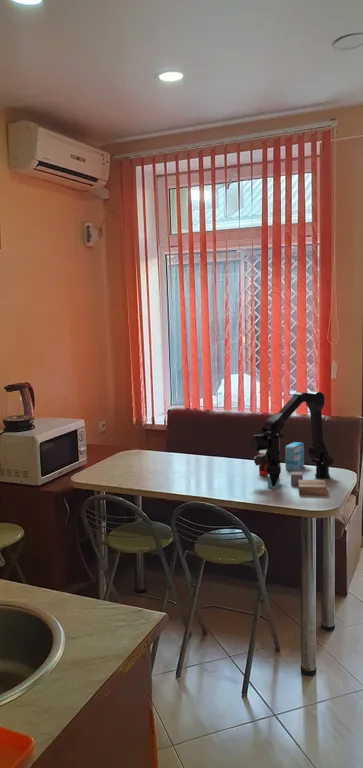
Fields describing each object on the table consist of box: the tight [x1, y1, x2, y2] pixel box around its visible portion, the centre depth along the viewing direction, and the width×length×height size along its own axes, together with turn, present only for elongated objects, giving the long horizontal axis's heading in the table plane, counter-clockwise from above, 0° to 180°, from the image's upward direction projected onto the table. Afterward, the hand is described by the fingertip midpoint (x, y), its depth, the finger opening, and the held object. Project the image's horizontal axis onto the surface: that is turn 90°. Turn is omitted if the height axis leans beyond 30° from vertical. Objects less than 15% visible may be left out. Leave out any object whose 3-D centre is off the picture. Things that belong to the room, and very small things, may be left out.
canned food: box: [258, 449, 268, 477], centre depth 273 cm, size 8×8×11 cm
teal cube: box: [267, 474, 280, 488], centre depth 254 cm, size 5×5×5 cm
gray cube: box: [290, 471, 304, 487], centre depth 255 cm, size 5×5×5 cm
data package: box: [284, 441, 305, 472], centre depth 282 cm, size 12×4×12 cm, turn 145°
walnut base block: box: [297, 479, 328, 497], centre depth 244 cm, size 11×11×4 cm
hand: (273, 483), depth 254 cm, fingers open, 9 cm apart
